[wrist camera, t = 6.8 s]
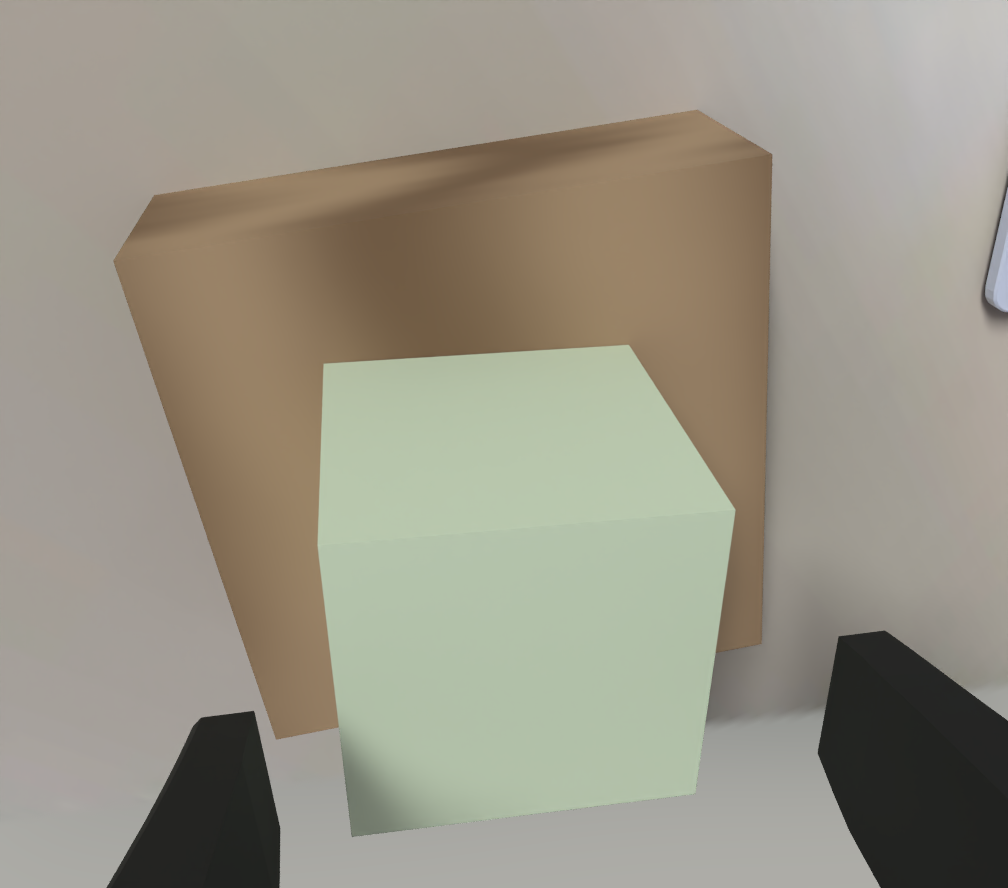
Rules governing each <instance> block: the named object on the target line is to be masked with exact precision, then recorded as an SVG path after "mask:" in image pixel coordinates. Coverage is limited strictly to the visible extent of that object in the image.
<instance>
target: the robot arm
mask: <svg viewBox="0 0 1008 888" xmlns="http://www.w3.org/2000/svg"><path fill="white" fill-rule="evenodd" d="M985 297H986V299H987V301H988V303H990V304H991V305H993V306H994V307H996V308H997V309H999V310H1001V311H1002V312H1008V189H1007V193H1006V198H1005V202H1004V206H1003V211H1002V215H1001V220H1000V224H999V229H998V233H997V237H996V242H995V246H994V251H993V255H992V260H991V264H990V269H989V273H988V277H987V282H986V286H985ZM818 755H819V757H820V760H821V763H822V765H823V768H824V770H825V773H826V775H827V778H828V780H829V783H830V786H831V788H832V791H833V793H834V796H835V798H836V800H837V803H838V805H839V808H840V810H841V812H842V815H843V817H844V819H845V822H846V824H847V826H848V829H849V831H850V833H851V834H852V836H853V838H854V840H855V842H856V844H857V846H858V848H859V849H860V851H861V853H862V855H863V857H864V858H865V860H866V862H867V864H868V865H869V867H870V869H871V871H872V873H873V875H874V877H875V878H876V880H877V882H878V884H879V886H880V887H881V888H1008V721H1007V720H1006V719H1005V718H1003V717H1002V716H1001V715H999V714H998V713H996V712H995V711H994V710H992V709H991V708H989V707H988V706H987V705H985V704H984V703H983V702H981V701H980V700H979V699H977V698H976V697H975V696H973V695H972V694H971V693H969V692H968V691H967V690H965V689H964V688H963V687H961V686H960V685H958V684H957V683H956V682H954V681H953V680H952V679H950V678H949V677H948V676H946V675H945V674H944V673H942V672H941V671H940V670H938V669H937V668H936V667H934V666H933V665H932V664H930V663H929V662H928V661H926V660H925V659H924V658H922V657H921V656H920V655H918V654H917V653H915V652H914V651H913V650H911V649H910V648H909V647H907V646H906V645H904V644H903V643H902V642H900V641H899V640H898V639H896V638H895V637H893V636H892V635H890V634H889V633H888V632H886V631H878V632H870V633H863V634H855V635H847V636H839V638H838V643H837V649H836V654H835V660H834V665H833V671H832V676H831V682H830V688H829V693H828V699H827V704H826V710H825V715H824V721H823V726H822V732H821V738H820V743H819V748H818ZM279 881H280V825H279V821H278V816H277V812H276V807H275V803H274V798H273V794H272V789H271V785H270V780H269V776H268V771H267V767H266V762H265V758H264V753H263V749H262V744H261V740H260V735H259V731H258V726H257V722H256V717H255V713H254V711H250V712H242V713H234V714H226V715H218V716H210V717H203V718H200V720H199V721H198V722H197V723H196V724H195V725H194V726H193V728H192V730H191V732H190V734H189V736H188V738H187V741H186V743H185V745H184V747H183V749H182V751H181V753H180V755H179V757H178V759H177V761H176V763H175V765H174V767H173V769H172V771H171V773H170V775H169V777H168V779H167V781H166V783H165V785H164V787H163V789H162V791H161V793H160V794H159V796H158V798H157V800H156V802H155V804H154V806H153V807H152V809H151V811H150V813H149V815H148V817H147V819H146V821H145V822H144V824H143V826H142V828H141V829H140V831H139V833H138V835H137V836H136V838H135V840H134V841H133V843H132V845H131V847H130V848H129V850H128V852H127V854H126V855H125V857H124V859H123V861H122V862H121V864H120V866H119V867H118V869H117V871H116V873H115V874H114V876H113V878H112V880H111V881H110V883H109V885H108V886H107V888H279V883H280V882H279Z"/></svg>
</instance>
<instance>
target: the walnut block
mask: <svg viewBox="0 0 1008 888" xmlns="http://www.w3.org/2000/svg"><path fill="white" fill-rule="evenodd" d="M771 188H772V154H771V153H769V152H767V151H766V150H764V149H762V148H761V147H759V146H757V145H756V144H754V143H752V142H751V141H749V140H747V139H745V138H744V137H742V136H740V135H739V134H737V133H735V132H734V131H732V130H730V129H729V128H727V127H725V126H724V125H722V124H720V123H719V122H717V121H715V120H713V119H712V118H710V117H708V116H707V115H705V114H703V113H702V112H700V111H698V110H694V111H687V112H681V113H674V114H668V115H662V116H655V117H649V118H643V119H636V120H630V121H624V122H617V123H611V124H605V125H598V126H592V127H586V128H579V129H573V130H566V131H560V132H554V133H547V134H541V135H535V136H528V137H522V138H516V139H509V140H503V141H497V142H490V143H484V144H477V145H471V146H465V147H458V148H452V149H446V150H439V151H433V152H427V153H420V154H414V155H408V156H401V157H395V158H388V159H382V160H376V161H369V162H363V163H357V164H350V165H344V166H338V167H331V168H325V169H319V170H312V171H306V172H299V173H293V174H287V175H280V176H274V177H268V178H261V179H255V180H249V181H242V182H236V183H230V184H223V185H217V186H210V187H204V188H198V189H191V190H185V191H179V192H172V193H166V194H160V195H154V197H153V198H152V200H151V201H150V203H149V205H148V206H147V208H146V209H145V211H144V213H143V214H142V216H141V217H140V219H139V221H138V222H137V224H136V225H135V227H134V229H133V230H132V232H131V233H130V235H129V237H128V238H127V240H126V241H125V243H124V245H123V246H122V248H121V250H120V251H119V253H118V254H117V256H116V258H115V259H114V264H115V267H116V270H117V273H118V276H119V279H120V282H121V285H122V288H123V291H124V294H125V297H126V300H127V303H128V305H129V308H130V311H131V314H132V317H133V320H134V323H135V326H136V329H137V332H138V335H139V338H140V341H141V344H142V347H143V350H144V352H145V355H146V358H147V361H148V364H149V367H150V370H151V373H152V376H153V379H154V382H155V385H156V388H157V391H158V394H159V397H160V399H161V402H162V405H163V408H164V411H165V414H166V417H167V420H168V423H169V426H170V429H171V432H172V435H173V438H174V441H175V444H176V446H177V449H178V452H179V455H180V458H181V461H182V464H183V467H184V470H185V473H186V476H187V479H188V482H189V485H190V488H191V491H192V493H193V496H194V499H195V502H196V505H197V508H198V511H199V514H200V517H201V520H202V523H203V526H204V529H205V532H206V535H207V538H208V541H209V543H210V546H211V549H212V552H213V555H214V558H215V561H216V564H217V567H218V570H219V573H220V576H221V579H222V582H223V585H224V588H225V590H226V593H227V596H228V599H229V602H230V605H231V608H232V611H233V614H234V617H235V620H236V623H237V626H238V629H239V632H240V635H241V637H242V640H243V643H244V646H245V649H246V652H247V655H248V658H249V661H250V664H251V667H252V670H253V673H254V676H255V679H256V682H257V684H258V687H259V690H260V693H261V696H262V699H263V702H264V705H265V708H266V711H267V714H268V717H269V720H270V723H271V726H272V729H273V731H274V734H275V737H276V739H281V738H287V737H292V736H297V735H302V734H307V733H312V732H317V731H322V730H327V729H332V728H337V727H339V724H338V715H337V707H336V698H335V690H334V681H333V673H332V664H331V656H330V647H329V639H328V630H327V622H326V613H325V605H324V596H323V588H322V579H321V571H320V563H319V554H318V517H319V487H320V456H321V426H322V396H323V366H324V364H326V363H342V362H358V361H374V360H390V359H406V358H423V357H439V356H455V355H471V354H487V353H504V352H520V351H536V350H552V349H568V348H585V347H601V346H617V345H629V346H630V347H631V349H632V350H633V352H634V353H635V355H636V357H637V358H638V360H639V361H640V363H641V364H642V366H643V367H644V369H645V370H646V372H647V374H648V375H649V377H650V378H651V380H652V381H653V383H654V384H655V386H656V387H657V389H658V391H659V392H660V394H661V395H662V397H663V398H664V400H665V401H666V403H667V405H668V406H669V408H670V409H671V411H672V412H673V414H674V415H675V417H676V418H677V420H678V422H679V423H680V425H681V426H682V428H683V429H684V431H685V432H686V434H687V435H688V437H689V439H690V440H691V442H692V443H693V445H694V446H695V448H696V449H697V451H698V452H699V454H700V456H701V457H702V459H703V460H704V462H705V463H706V465H707V466H708V468H709V470H710V471H711V473H712V474H713V476H714V477H715V479H716V480H717V482H718V483H719V485H720V487H721V488H722V490H723V491H724V493H725V494H726V496H727V497H728V499H729V500H730V502H731V504H732V505H733V507H734V508H735V510H736V511H735V518H734V525H733V532H732V539H731V546H730V553H729V560H728V567H727V574H726V581H725V588H724V596H723V603H722V610H721V617H720V624H719V631H718V638H717V645H716V652H715V653H718V652H723V651H728V650H733V649H738V648H743V647H748V646H753V645H758V644H761V640H762V595H763V550H764V505H765V460H766V414H767V369H768V324H769V279H770V233H771Z"/></svg>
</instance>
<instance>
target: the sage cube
mask: <svg viewBox="0 0 1008 888" xmlns="http://www.w3.org/2000/svg"><path fill="white" fill-rule="evenodd" d="M735 511H736V510H735V508H734V507H733V505H732V504H731V502H730V500H729V499H728V497H727V496H726V494H725V493H724V491H723V490H722V488H721V487H720V485H719V483H718V482H717V480H716V479H715V477H714V476H713V474H712V473H711V471H710V470H709V468H708V466H707V465H706V463H705V462H704V460H703V459H702V457H701V456H700V454H699V452H698V451H697V449H696V448H695V446H694V445H693V443H692V442H691V440H690V439H689V437H688V435H687V434H686V432H685V431H684V429H683V428H682V426H681V425H680V423H679V422H678V420H677V418H676V417H675V415H674V414H673V412H672V411H671V409H670V408H669V406H668V405H667V403H666V401H665V400H664V398H663V397H662V395H661V394H660V392H659V391H658V389H657V387H656V386H655V384H654V383H653V381H652V380H651V378H650V377H649V375H648V374H647V372H646V370H645V369H644V367H643V366H642V364H641V363H640V361H639V360H638V358H637V357H636V355H635V353H634V352H633V350H632V349H631V347H630V346H629V345H617V346H601V347H585V348H568V349H552V350H536V351H520V352H504V353H487V354H471V355H455V356H439V357H423V358H406V359H390V360H374V361H358V362H342V363H326V364H324V366H323V396H322V426H321V456H320V487H319V517H318V554H319V563H320V571H321V579H322V588H323V596H324V605H325V613H326V622H327V630H328V639H329V647H330V656H331V664H332V673H333V681H334V690H335V698H336V707H337V715H338V724H339V732H340V741H341V749H342V758H343V766H344V775H345V783H346V791H347V800H348V808H349V817H350V825H351V834H352V837H354V836H363V835H371V834H379V833H387V832H395V831H402V830H411V829H419V828H427V827H434V826H443V825H451V824H459V823H467V822H475V821H483V820H491V819H499V818H507V817H515V816H522V815H523V816H524V815H532V814H539V813H548V812H556V811H564V810H572V809H579V808H588V807H596V806H604V805H612V804H620V803H628V802H636V801H644V800H652V799H660V798H668V797H677V796H684V795H692V794H695V792H696V785H697V779H698V771H699V764H700V756H701V750H702V743H703V736H704V729H705V722H706V715H707V708H708V701H709V694H710V687H711V680H712V673H713V666H714V659H715V652H716V645H717V638H718V631H719V624H720V617H721V610H722V603H723V596H724V588H725V581H726V574H727V567H728V560H729V553H730V546H731V539H732V532H733V525H734V518H735Z"/></svg>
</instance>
